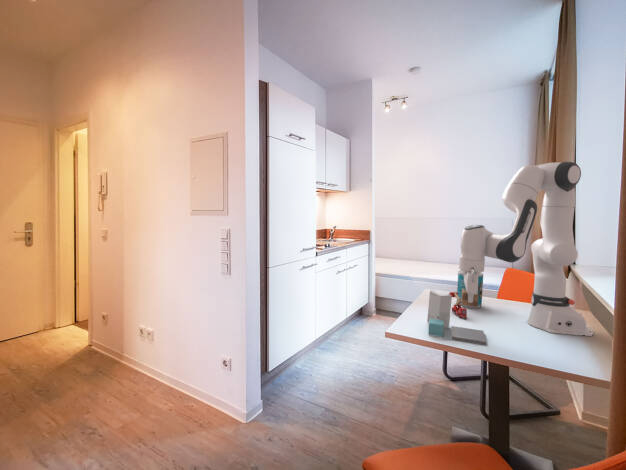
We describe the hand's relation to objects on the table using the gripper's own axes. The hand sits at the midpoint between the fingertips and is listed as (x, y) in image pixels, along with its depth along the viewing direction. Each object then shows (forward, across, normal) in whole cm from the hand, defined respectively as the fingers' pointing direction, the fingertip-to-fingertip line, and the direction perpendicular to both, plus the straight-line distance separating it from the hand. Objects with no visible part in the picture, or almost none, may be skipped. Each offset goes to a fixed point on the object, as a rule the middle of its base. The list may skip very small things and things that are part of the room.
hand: (469, 299), depth 123 cm
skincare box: (+15, +8, +11) cm, 21 cm away
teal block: (+15, -2, +12) cm, 20 cm away
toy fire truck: (+15, +28, +3) cm, 32 cm away
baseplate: (+15, 0, 0) cm, 15 cm away
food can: (+15, +46, -3) cm, 49 cm away
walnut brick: (+2, 0, 0) cm, 2 cm away
